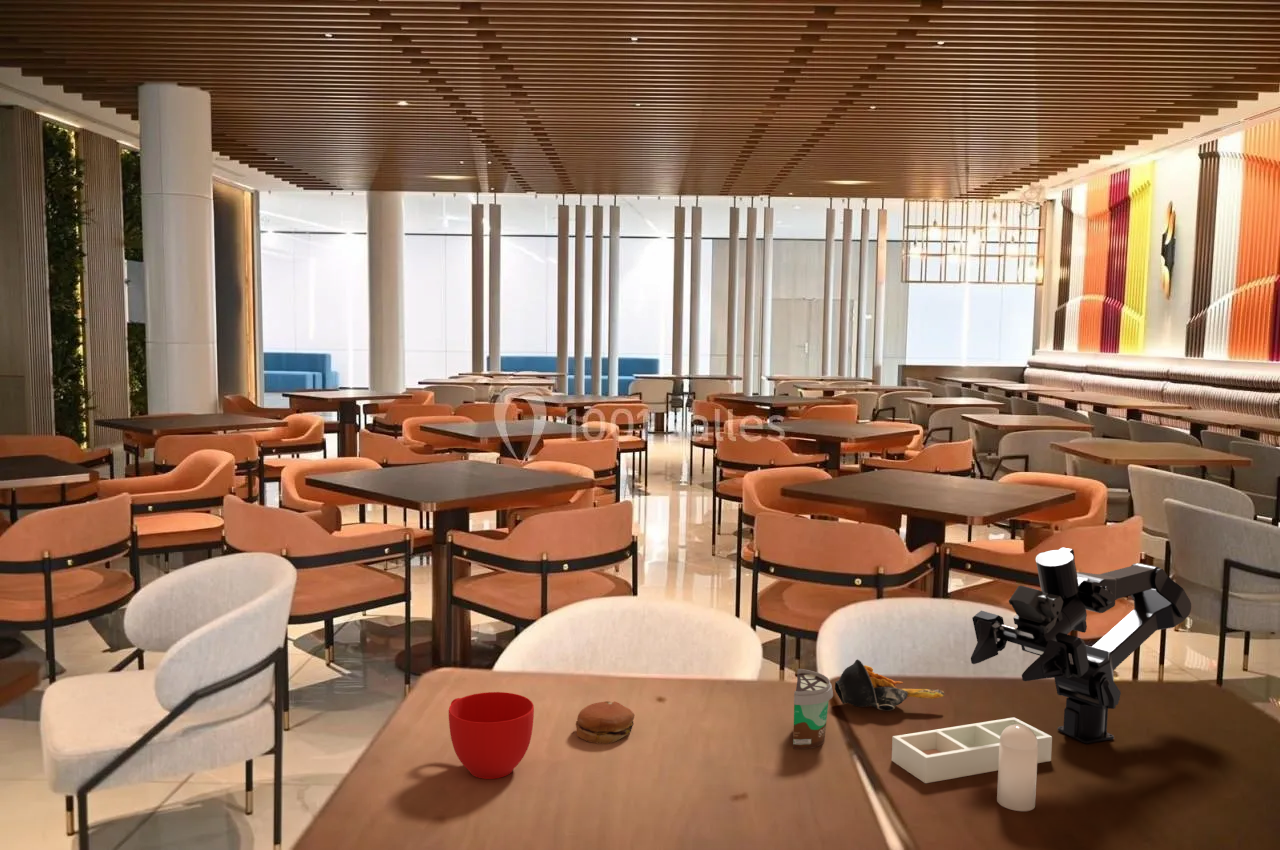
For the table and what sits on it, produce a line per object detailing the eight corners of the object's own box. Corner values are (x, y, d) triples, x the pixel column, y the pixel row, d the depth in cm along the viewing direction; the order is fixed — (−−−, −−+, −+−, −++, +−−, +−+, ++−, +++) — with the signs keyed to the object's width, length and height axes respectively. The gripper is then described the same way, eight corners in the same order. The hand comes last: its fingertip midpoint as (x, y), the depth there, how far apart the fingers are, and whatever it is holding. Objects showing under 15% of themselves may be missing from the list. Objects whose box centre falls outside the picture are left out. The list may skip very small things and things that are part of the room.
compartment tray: (1013, 740, 169) (1014, 717, 169) (1050, 760, 161) (1052, 736, 161) (891, 760, 160) (892, 736, 160) (925, 783, 153) (926, 757, 152)
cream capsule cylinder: (1017, 792, 150) (1021, 716, 149) (1042, 807, 145) (1046, 729, 144) (989, 797, 148) (992, 721, 147) (1014, 813, 143) (1017, 734, 142)
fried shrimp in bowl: (824, 670, 189) (913, 639, 190) (847, 729, 186) (937, 696, 187) (832, 668, 180) (925, 635, 182) (856, 729, 177) (950, 695, 178)
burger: (578, 746, 165) (579, 718, 164) (574, 724, 174) (574, 698, 174) (638, 743, 166) (638, 716, 166) (630, 722, 175) (631, 696, 175)
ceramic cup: (485, 738, 167) (485, 679, 166) (550, 770, 155) (551, 707, 154) (418, 760, 158) (417, 699, 157) (481, 797, 146) (481, 730, 145)
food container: (831, 755, 162) (833, 695, 161) (792, 752, 163) (794, 692, 162) (832, 726, 174) (834, 670, 173) (796, 723, 175) (797, 667, 174)
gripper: (996, 565, 169) (937, 610, 161) (1101, 589, 154) (1042, 640, 146) (1007, 622, 172) (951, 669, 164) (1111, 652, 157) (1054, 705, 149)
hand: (996, 669), depth 156 cm, fingers open, 9 cm apart
